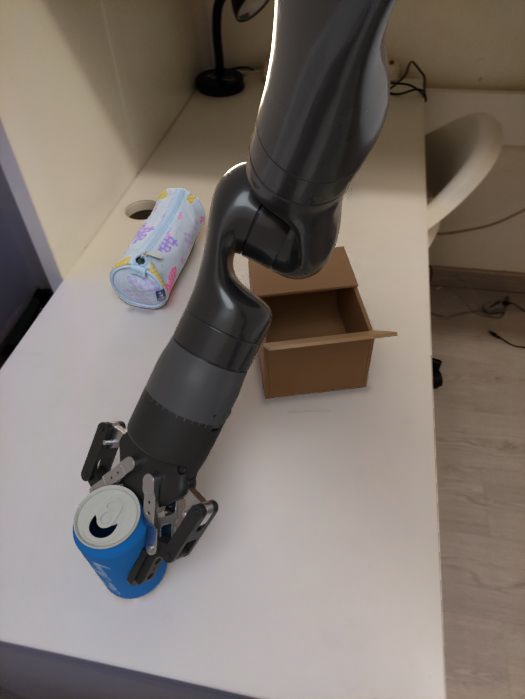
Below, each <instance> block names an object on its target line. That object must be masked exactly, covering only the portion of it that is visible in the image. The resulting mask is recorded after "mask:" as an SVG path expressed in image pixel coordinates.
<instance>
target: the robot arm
mask: <svg viewBox="0 0 525 699" xmlns="http://www.w3.org/2000/svg"><path fill="white" fill-rule="evenodd" d="M397 2H398V0H274V17H273V27H272V28H273V29H272V40H271V49H270V56H269V62H268V68H267V74H266V78H265V83H264V88H263V91H262V96H261V99H260V103H259V107H258V111H257V114H256V118H255V121H254V126H253V128H252V134H251V137H250V141H249V145H248V149H247V153H246V158H245V159H246V161H244V162H240V163H238V164H235V165H234V166H232V167H231V168H229V169H228V170H227V171H225V173H224V174H223V175H222V176H221V177H220V179H219V181H218V182H217V184H216V187H215V189H214V192H213V193H212V194H213V195H212V197H211V202H210V207H209V211H208V212H209V213H208V218H207V225H206V226H207V227H206V233H205V234H206V235H205V240H204V246H203V253H202V257H201V261H200V266H199V270H198V273H197V277H196V280H195V283H194V287H193V289H192V292H191V294H190V296H189V299H188V301H187V304H186V306H185V308H184V310H183V312H182V314H181V317H180V319H179V321H178V323H177V325H176V327H175V329H174V331H173V333H172V335H171V336H170V339H169V341H168V342H167V344H166V345H165V347H164V348H163V350H162V352H161V353H160V355H159V357H158V358H157V361H156V363H155V365H154V367H153V369H152V371H151V373H150V375H149V378H148V379H147V382H146V383H145V385H144V388H143V389H142V393H141V394H140V396H139V399H138V400H137V403H136V405H135V407H134V410H133V411H132V413H131V416H130V418H129V420H128V421H127V425H126V423H125V422H124V421H123V420H113V421H101V422H99V423H98V425H97V427H96V430H95V433H94V435H93V438H92V441H91V444H90V446H89V450H88V452H87V455H86V458H85V460H84V464H83V466H82V469H81V472H80V477H81V480H82V481H84V482H88V483H87V484H89V487H90V488H89V494H90V493H91V492H93V491H94V490H96V489H98V488H101V487H104V486H108V485H119V486H123V487H126V488H128V489H130V490H131V491H132V492H133V493H134V494H135V495H136V497H137V498H138V500H139V501H140V503H141V505H142V507H143V525H144V526H146V527H147V529H146V545H145V547H144V548H142V550H141V552H140V554H139V557H138V558H137V560H136V562H135V563H134V565H133V567H132V569H131V571H130V573H129V575H128V577H127V579H126V581H127V582H128V583H129V584H130V585H131V586H132V587H133V586H135V585H138V584H139V585H140V584H143V583H145V582H147V581H149V580H151V579H152V578H153V577H154V576H155V574H156V572H157V570H158V568H159V566H160V564H161V562H162V560H164V561H165V562H166V563H167V564H171V563H173V562H175V561H177V560H179V559H181V558H185V557H188V556H189V555H190V554H191V553H192V551H193V550H194V549H195V547H196V545H197V544H198V543H199V541H200V539H201V538H202V537H203V535H204V533H205V531H206V530H207V529H208V527H209V525H210V524H211V522H212V521H213V520H214V518H215V516H216V515H217V513H218V511H219V508H220V507H219V503H218V502H217V500H215V499H209V500H207V499H206V498H205V496H204V495H202V493H201V492H199V490H198V489H197V478H198V477H197V476H198V473H199V471H200V469H202V467H203V465H204V464H205V462H206V461H207V459H208V458H209V455H210V453H211V451H212V449H213V448H214V445H215V443H216V442H217V439H218V438H219V436H220V434H221V431H222V429H223V428H224V426H225V424H226V422H227V420H228V419H229V418H230V416H231V414H232V412H233V408H234V405H235V404H236V402H237V400H238V398H239V396H240V393H241V390H242V388H243V384H244V381H245V378H246V376H247V374H248V371H249V369H250V367H251V366H252V363H253V362H254V359H255V358H256V356H257V354H258V350H259V348H260V346H261V343H262V342H263V340H264V338H265V336H266V334H267V332H268V330H269V328H270V325H271V322H272V317H273V315H272V311H271V309H270V307H269V306H268V305H267V304H266V303H265V302H264V301H263V300H262V299H261V298H259V297H258V296H257V295H256V294H254V293H253V292H252V291H250V288H249V287H247V286H245V285H244V284H243V282H242V281H241V280H240V279H239V278H238V276H237V274H236V272H235V268H234V267H235V266H234V259H235V255H236V254H237V255H238V256H239V255H241V257H243V258H245V259H247V260H248V259H249V260H251V261H253V262H255V263H257V264H259V265H261V266H263V267H265V268H267V269H270V270H271V271H273V272H275V273H277V274H279V275H281V276H283V277H286V278H289V279H296V280H299V279H306V278H309V277H311V276H313V275H315V274H317V273H318V272H319V271H320V270H321V269H322V268H323V267H324V266H325V265H326V263H327V262H328V261H329V259H330V257H331V255H332V253H333V251H334V248H335V247H337V246H336V245H337V242H338V238H339V234H340V230H341V224H342V223H341V222H342V212H343V200H344V197H345V195H346V192H347V191H348V189H349V187H350V186H351V184H352V183H353V181H354V179H355V178H356V176H357V175H358V173H359V172H360V170H361V168H362V167H363V165H364V164H365V162H366V160H367V159H368V157H369V155H370V154H371V152H372V150H373V149H374V147H375V145H376V143H377V141H378V139H379V137H380V135H381V133H382V130H383V128H384V124H385V122H386V121H385V120H386V119H387V114H388V111H389V105H390V98H391V74H390V72H391V71H390V64H389V58H388V52H387V45H386V44H387V43H386V42H387V41H386V34H387V27H388V25H389V21H390V18H391V15H392V13H393V11H394V8H395V6H396V5H397ZM249 260H248V261H249ZM118 451H119V464H117V465H115V466H114V467H113V464H114V462H115V459H116V456H117V454H118ZM112 467H113V468H112ZM181 500H184V504H185V505H184V508H183V511H182V512H181V516H182V521H181V522H180V524H179V525H178V526H177V528H176V523H177V522H178V521H179V518H180V508H181ZM160 508H164V509H163V511H161V512H159V509H160ZM92 522H93V523H94V525H95V526H96V528H97V529H98V531H99V530H100V529H101V527H99V526H98V524H97V518H96V515H95V516H94V517H93V519H92Z"/></svg>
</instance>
